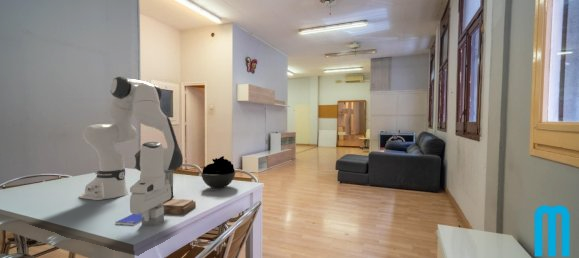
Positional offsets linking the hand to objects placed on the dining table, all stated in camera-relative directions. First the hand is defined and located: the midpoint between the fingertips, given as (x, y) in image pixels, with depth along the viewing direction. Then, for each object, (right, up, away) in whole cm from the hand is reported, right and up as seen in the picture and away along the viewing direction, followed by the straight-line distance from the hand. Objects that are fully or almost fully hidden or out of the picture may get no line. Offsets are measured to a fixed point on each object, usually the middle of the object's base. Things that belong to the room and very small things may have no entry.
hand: (153, 217), depth 101 cm
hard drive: (-9, -3, +4) cm, 10 cm away
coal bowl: (+11, -1, +53) cm, 54 cm away
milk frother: (-10, -2, +29) cm, 31 cm away
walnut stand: (+3, -2, +15) cm, 15 cm away
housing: (0, -2, 0) cm, 2 cm away
